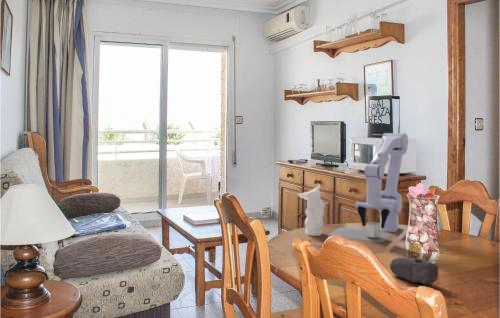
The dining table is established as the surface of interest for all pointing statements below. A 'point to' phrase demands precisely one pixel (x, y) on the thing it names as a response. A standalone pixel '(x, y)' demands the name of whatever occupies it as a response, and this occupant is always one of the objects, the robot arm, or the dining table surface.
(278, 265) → the dining table surface
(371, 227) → the steel collar
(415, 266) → the perforated stone tool
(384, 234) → the post board
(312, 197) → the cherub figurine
